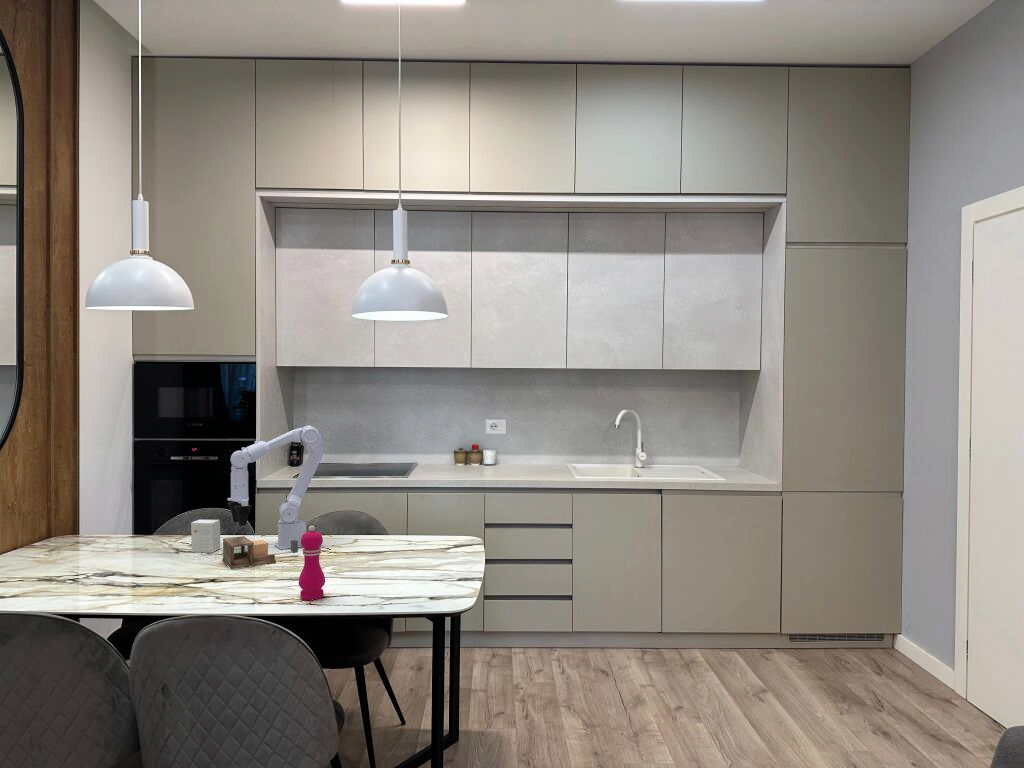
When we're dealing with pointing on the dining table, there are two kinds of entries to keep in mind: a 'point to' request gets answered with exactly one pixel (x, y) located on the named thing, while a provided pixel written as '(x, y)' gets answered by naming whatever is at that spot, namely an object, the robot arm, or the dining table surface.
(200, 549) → the small box
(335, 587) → the dining table surface
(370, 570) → the dining table surface
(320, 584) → the pepper mill
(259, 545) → the tan piece
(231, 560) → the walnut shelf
